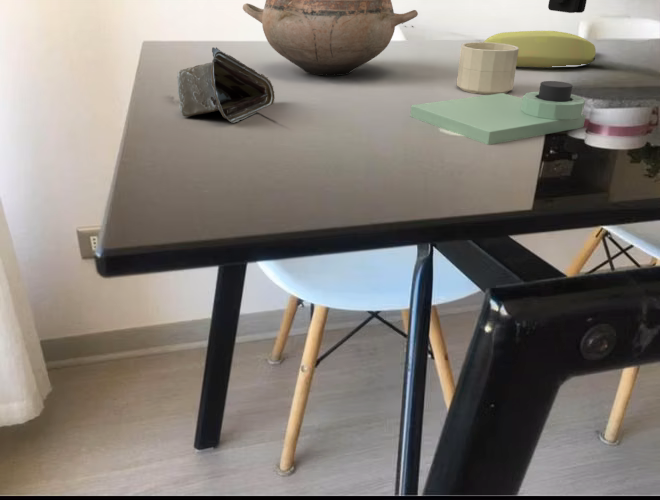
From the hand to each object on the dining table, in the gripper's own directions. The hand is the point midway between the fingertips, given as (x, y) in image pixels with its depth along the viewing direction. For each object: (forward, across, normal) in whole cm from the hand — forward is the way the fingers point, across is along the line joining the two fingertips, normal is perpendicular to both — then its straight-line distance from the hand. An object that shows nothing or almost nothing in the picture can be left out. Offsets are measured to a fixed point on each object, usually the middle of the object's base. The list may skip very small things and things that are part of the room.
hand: (565, 10), depth 63 cm
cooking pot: (+12, -5, +36) cm, 39 cm away
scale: (+12, -4, +3) cm, 13 cm away
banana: (+12, +28, +28) cm, 42 cm away
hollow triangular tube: (+12, -28, +21) cm, 37 cm away
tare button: (+9, +1, 0) cm, 9 cm away
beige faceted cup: (+12, +7, +16) cm, 21 cm away
